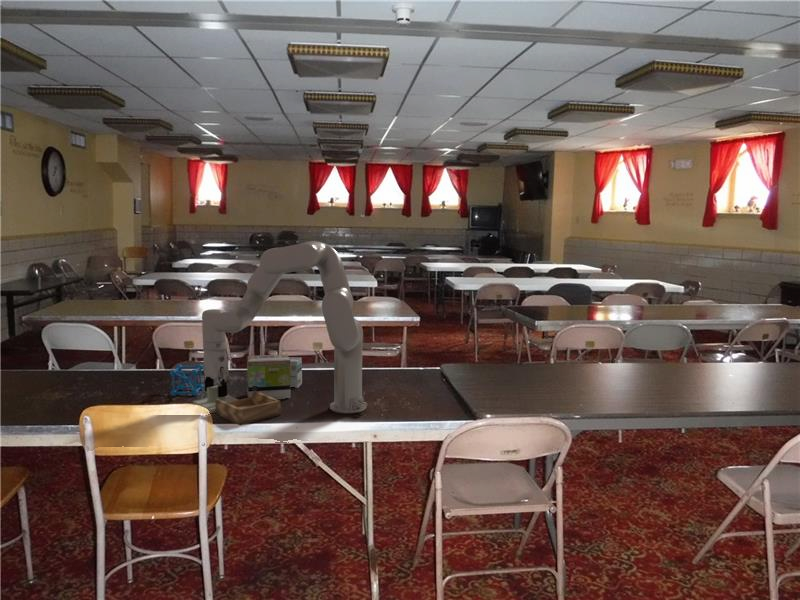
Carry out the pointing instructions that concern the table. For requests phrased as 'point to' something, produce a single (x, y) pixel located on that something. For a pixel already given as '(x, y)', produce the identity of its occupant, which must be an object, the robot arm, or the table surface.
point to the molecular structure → (186, 380)
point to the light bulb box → (295, 372)
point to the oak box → (249, 408)
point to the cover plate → (213, 404)
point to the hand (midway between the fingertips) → (215, 393)
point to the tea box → (269, 375)
